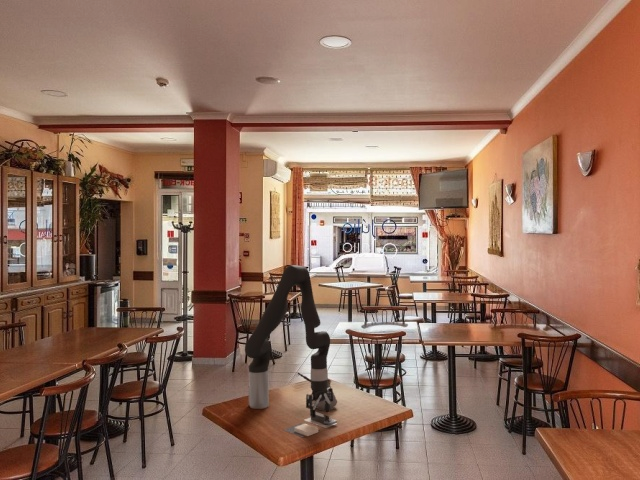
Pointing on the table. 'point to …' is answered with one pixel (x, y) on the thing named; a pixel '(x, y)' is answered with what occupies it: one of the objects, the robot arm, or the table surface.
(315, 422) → the rest pad
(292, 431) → the mat
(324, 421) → the grey post on base
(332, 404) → the coffee pot
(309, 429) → the tile
